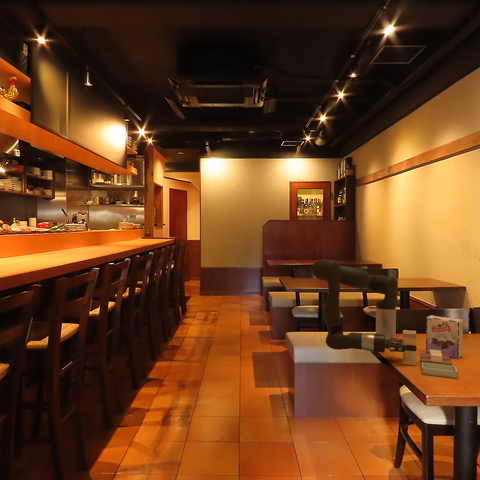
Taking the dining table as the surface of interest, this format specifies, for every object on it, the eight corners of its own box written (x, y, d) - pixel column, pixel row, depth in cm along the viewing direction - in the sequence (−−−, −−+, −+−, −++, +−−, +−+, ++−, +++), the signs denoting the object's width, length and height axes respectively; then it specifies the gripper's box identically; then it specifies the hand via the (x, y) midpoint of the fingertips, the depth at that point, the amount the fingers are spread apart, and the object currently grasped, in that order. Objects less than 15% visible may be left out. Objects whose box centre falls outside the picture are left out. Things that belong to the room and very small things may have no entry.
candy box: (425, 352, 182) (425, 316, 181) (430, 350, 186) (430, 314, 185) (458, 359, 172) (458, 321, 171) (462, 356, 176) (463, 319, 176)
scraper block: (402, 360, 170) (403, 330, 170) (415, 361, 168) (415, 331, 168) (402, 363, 165) (403, 332, 165) (415, 365, 163) (416, 333, 163)
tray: (421, 368, 160) (421, 362, 160) (455, 372, 155) (455, 365, 155) (422, 374, 153) (422, 367, 153) (457, 378, 148) (457, 372, 148)
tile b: (430, 358, 163) (430, 352, 163) (441, 359, 162) (441, 353, 162) (431, 361, 159) (431, 355, 159) (442, 362, 158) (442, 356, 158)
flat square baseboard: (420, 360, 170) (420, 353, 170) (449, 363, 166) (449, 356, 166) (421, 367, 160) (421, 360, 160) (452, 371, 156) (452, 364, 156)
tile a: (429, 355, 167) (429, 349, 167) (440, 356, 166) (440, 350, 166) (430, 358, 164) (430, 351, 164) (441, 359, 162) (441, 353, 162)
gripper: (372, 337, 165) (416, 342, 159) (374, 330, 179) (415, 333, 172) (372, 355, 165) (416, 360, 159) (374, 346, 179) (415, 351, 172)
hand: (416, 346), depth 166 cm, fingers closed on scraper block, 5 cm apart
